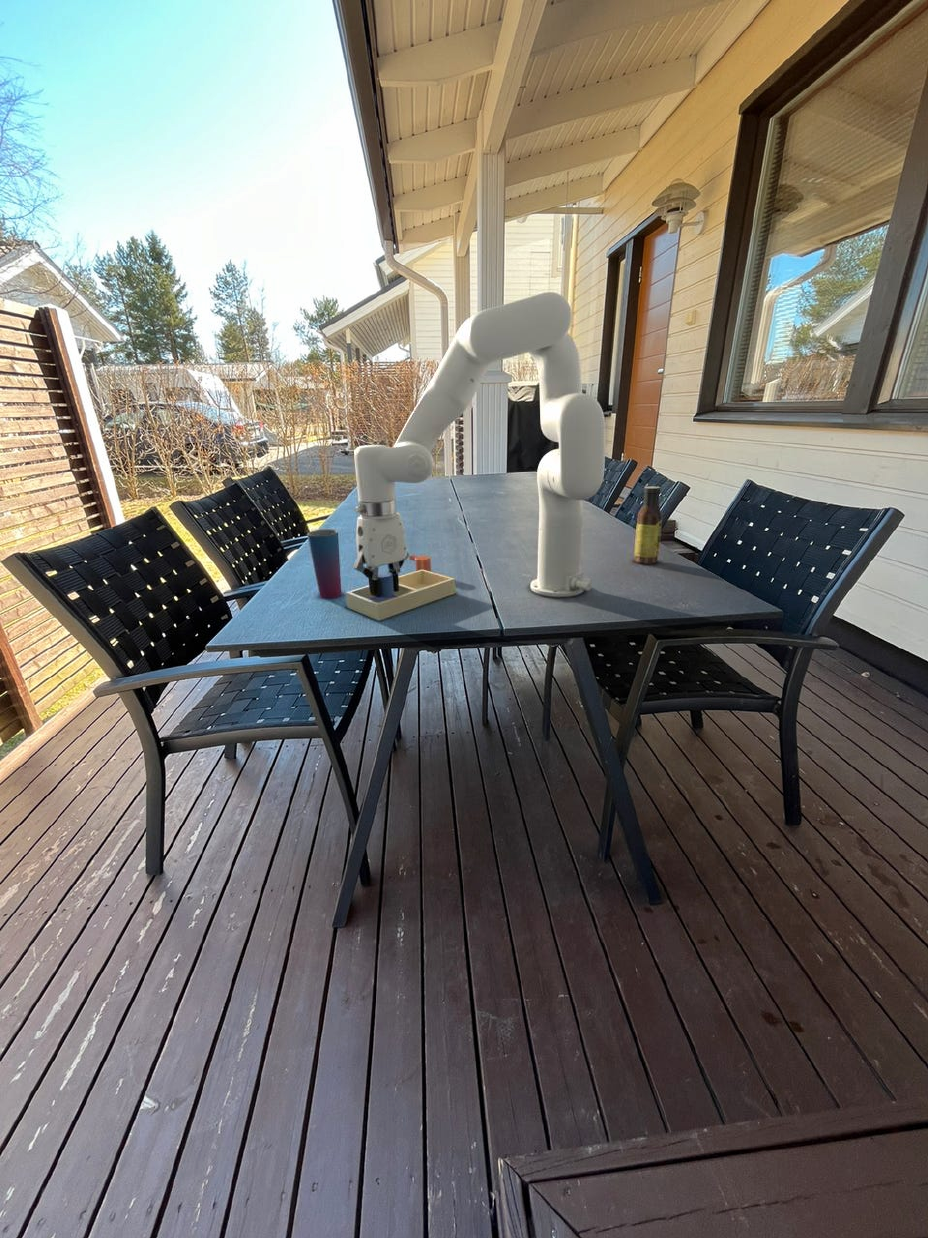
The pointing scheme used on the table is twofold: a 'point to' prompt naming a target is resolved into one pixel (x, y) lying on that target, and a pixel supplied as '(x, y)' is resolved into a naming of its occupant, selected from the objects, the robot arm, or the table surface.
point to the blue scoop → (386, 583)
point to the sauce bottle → (648, 528)
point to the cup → (326, 561)
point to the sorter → (402, 595)
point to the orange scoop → (422, 562)
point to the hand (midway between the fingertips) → (384, 592)
